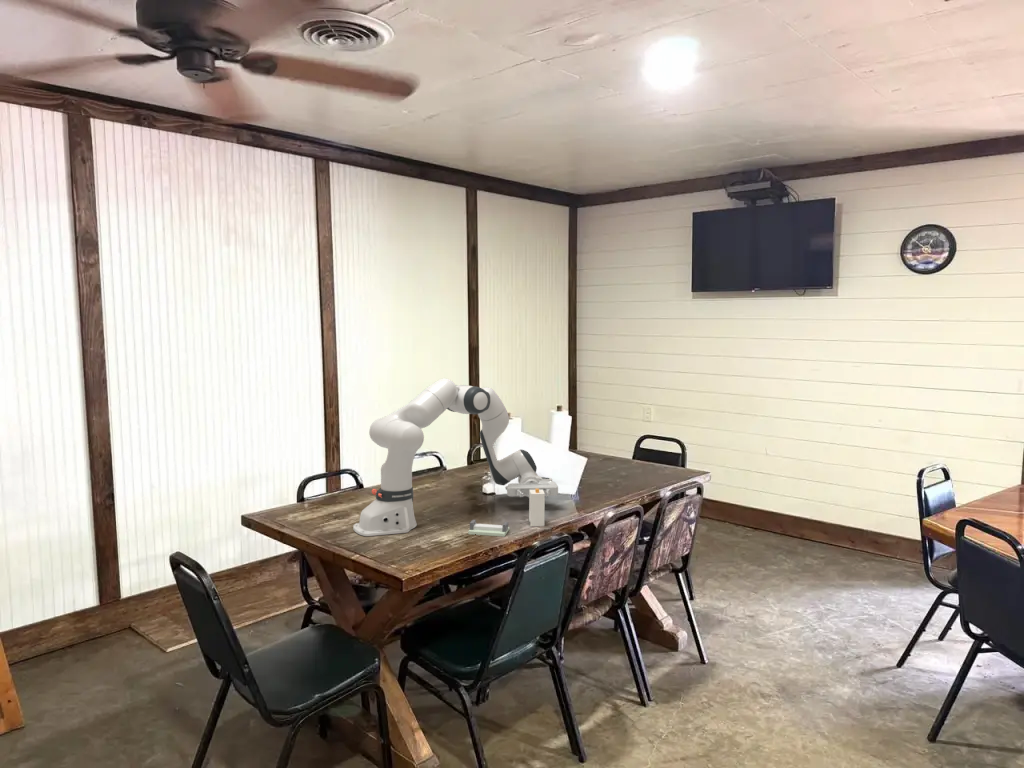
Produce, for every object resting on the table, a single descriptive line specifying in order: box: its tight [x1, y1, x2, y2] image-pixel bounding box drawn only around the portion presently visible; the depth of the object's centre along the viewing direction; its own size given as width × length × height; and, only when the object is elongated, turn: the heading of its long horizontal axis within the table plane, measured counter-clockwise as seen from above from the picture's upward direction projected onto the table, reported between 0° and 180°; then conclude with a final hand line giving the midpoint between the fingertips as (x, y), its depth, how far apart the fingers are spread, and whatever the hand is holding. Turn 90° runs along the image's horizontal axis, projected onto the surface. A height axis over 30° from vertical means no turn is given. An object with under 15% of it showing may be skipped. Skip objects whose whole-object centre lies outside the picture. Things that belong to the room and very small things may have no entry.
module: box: [528, 489, 546, 527], centre depth 255 cm, size 6×5×13 cm
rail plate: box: [467, 519, 510, 538], centre depth 245 cm, size 8×13×3 cm, turn 78°
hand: (534, 494), depth 267 cm, fingers open, 8 cm apart
